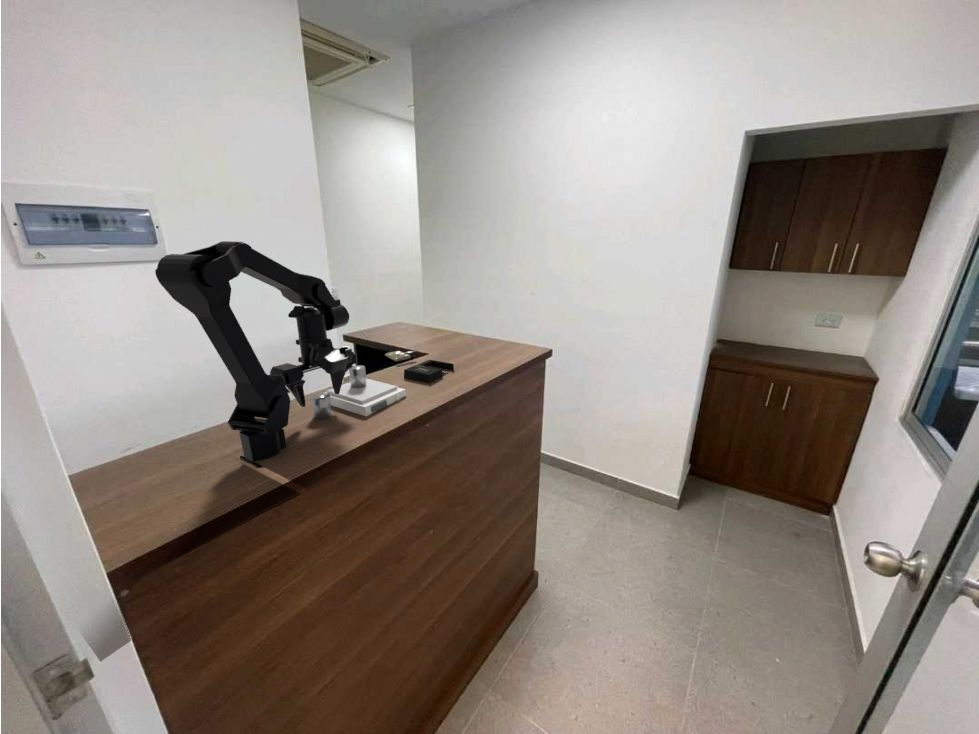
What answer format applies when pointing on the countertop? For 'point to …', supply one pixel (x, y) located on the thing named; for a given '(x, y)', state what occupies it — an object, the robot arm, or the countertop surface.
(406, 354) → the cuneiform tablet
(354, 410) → the scale
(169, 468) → the countertop surface
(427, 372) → the battery charger
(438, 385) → the countertop surface
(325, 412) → the spacer
